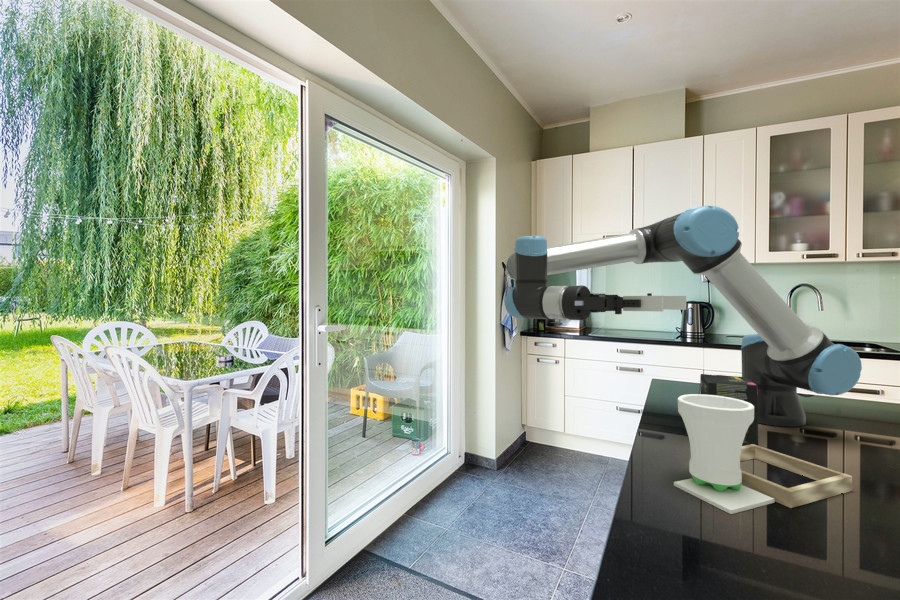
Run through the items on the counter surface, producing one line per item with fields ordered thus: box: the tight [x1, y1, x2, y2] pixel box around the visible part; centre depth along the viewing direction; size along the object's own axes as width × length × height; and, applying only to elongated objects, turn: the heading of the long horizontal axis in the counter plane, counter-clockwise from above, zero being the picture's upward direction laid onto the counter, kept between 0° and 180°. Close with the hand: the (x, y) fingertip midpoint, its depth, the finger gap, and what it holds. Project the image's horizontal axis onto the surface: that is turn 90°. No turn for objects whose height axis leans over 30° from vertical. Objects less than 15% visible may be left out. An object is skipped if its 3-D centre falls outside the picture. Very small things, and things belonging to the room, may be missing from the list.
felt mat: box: [673, 477, 775, 515], centre depth 67 cm, size 10×10×1 cm
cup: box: [677, 393, 754, 491], centre depth 69 cm, size 11×11×14 cm
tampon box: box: [699, 373, 760, 446], centre depth 90 cm, size 11×9×15 cm
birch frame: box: [740, 444, 853, 509], centre depth 72 cm, size 16×16×2 cm
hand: (675, 303), depth 73 cm, fingers open, 13 cm apart
